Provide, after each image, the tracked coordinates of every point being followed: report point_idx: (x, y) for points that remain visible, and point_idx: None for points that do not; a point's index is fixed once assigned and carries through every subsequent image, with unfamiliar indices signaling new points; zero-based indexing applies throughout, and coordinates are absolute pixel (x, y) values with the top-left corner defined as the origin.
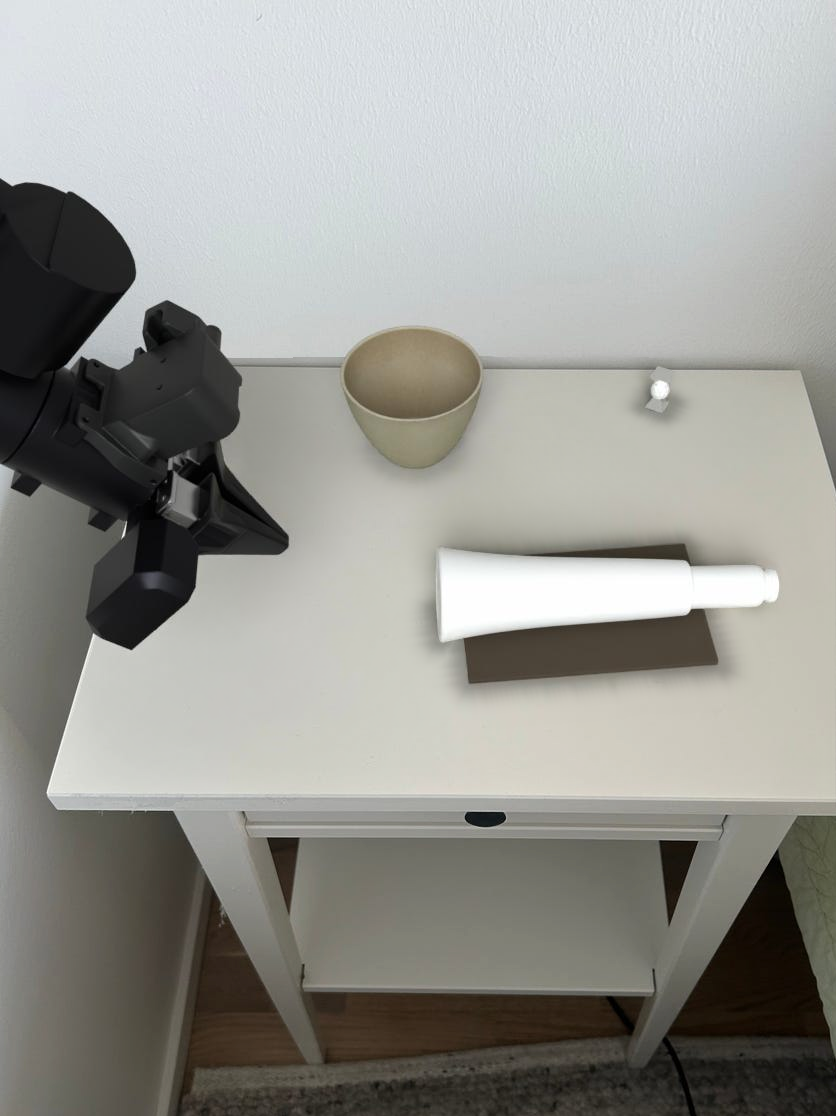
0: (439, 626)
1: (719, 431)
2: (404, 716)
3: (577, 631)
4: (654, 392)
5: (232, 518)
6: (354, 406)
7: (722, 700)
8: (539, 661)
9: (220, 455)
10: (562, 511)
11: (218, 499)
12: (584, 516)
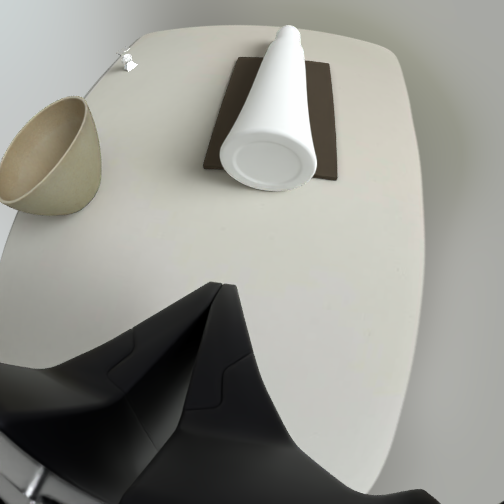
0: (287, 181)
1: (163, 47)
2: (363, 236)
3: None
4: (127, 59)
5: (248, 397)
6: (34, 194)
7: (352, 71)
8: (323, 131)
9: (19, 381)
10: (182, 102)
11: (228, 456)
12: (192, 93)
